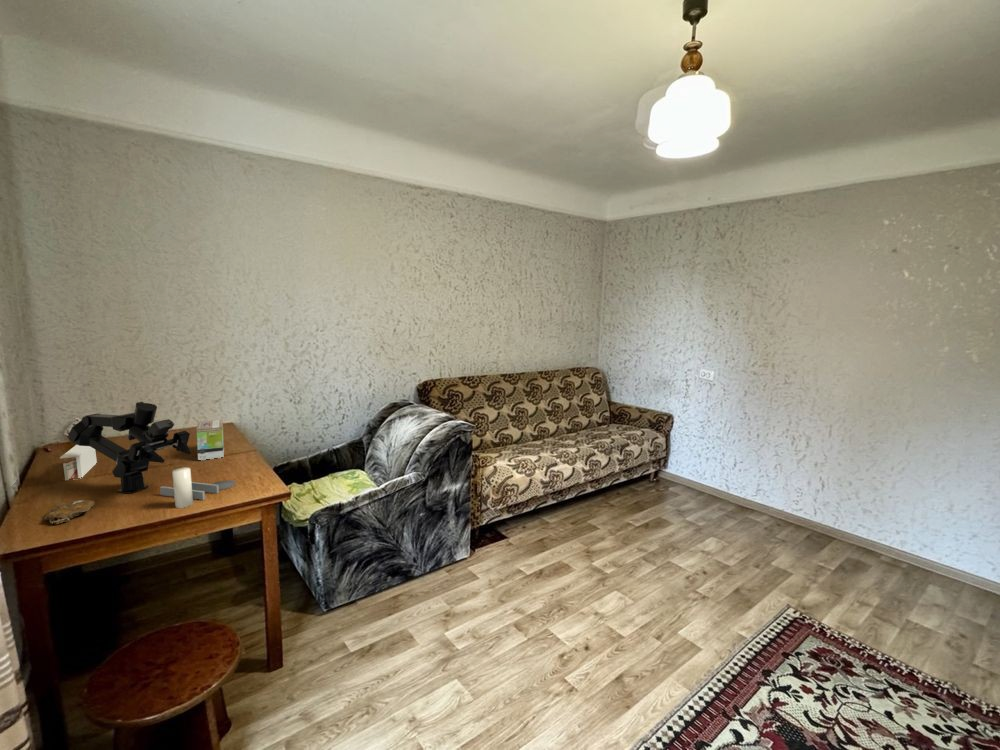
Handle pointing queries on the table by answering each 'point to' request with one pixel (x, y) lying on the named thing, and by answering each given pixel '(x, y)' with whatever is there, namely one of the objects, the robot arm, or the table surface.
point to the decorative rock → (68, 510)
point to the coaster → (225, 484)
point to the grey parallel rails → (193, 490)
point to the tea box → (210, 440)
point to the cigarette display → (79, 461)
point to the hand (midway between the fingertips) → (177, 457)
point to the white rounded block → (182, 487)
